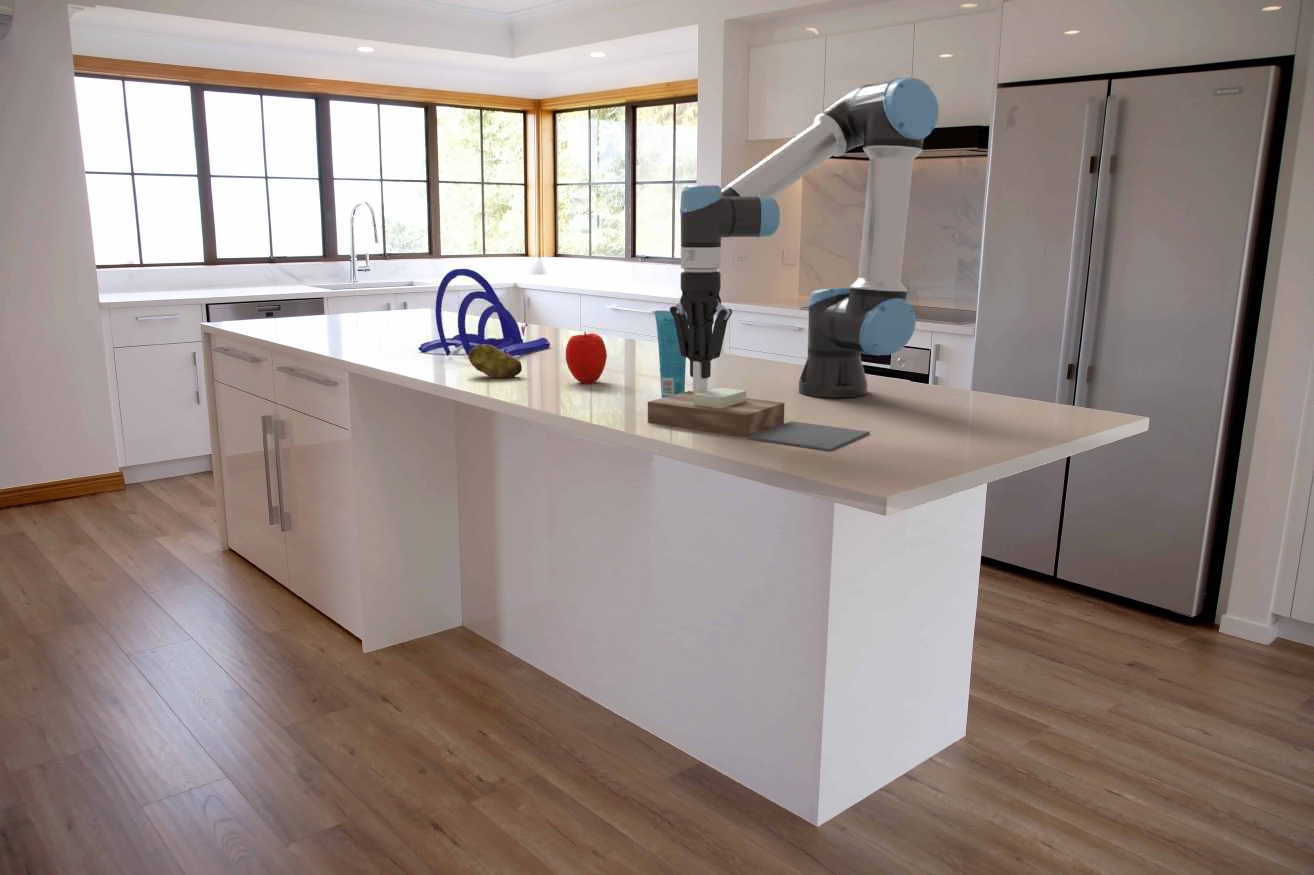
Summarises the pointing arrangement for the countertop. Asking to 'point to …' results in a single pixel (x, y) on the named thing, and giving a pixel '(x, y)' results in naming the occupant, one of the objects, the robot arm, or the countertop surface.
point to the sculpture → (481, 322)
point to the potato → (494, 361)
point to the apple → (586, 357)
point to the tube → (670, 355)
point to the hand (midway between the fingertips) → (700, 394)
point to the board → (716, 415)
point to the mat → (809, 435)
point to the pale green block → (719, 397)
